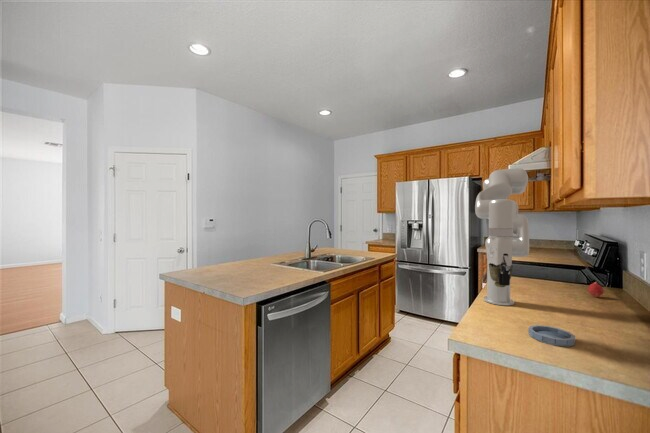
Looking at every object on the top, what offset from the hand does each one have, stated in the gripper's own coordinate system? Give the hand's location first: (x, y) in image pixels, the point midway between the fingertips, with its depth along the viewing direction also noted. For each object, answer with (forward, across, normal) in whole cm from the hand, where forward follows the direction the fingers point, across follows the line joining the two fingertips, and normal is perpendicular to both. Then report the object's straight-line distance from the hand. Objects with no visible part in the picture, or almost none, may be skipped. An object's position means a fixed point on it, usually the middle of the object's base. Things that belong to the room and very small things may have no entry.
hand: (500, 282), depth 102 cm
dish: (+17, +5, +14) cm, 22 cm away
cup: (+2, 0, 0) cm, 2 cm away
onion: (+18, -58, +62) cm, 87 cm away
